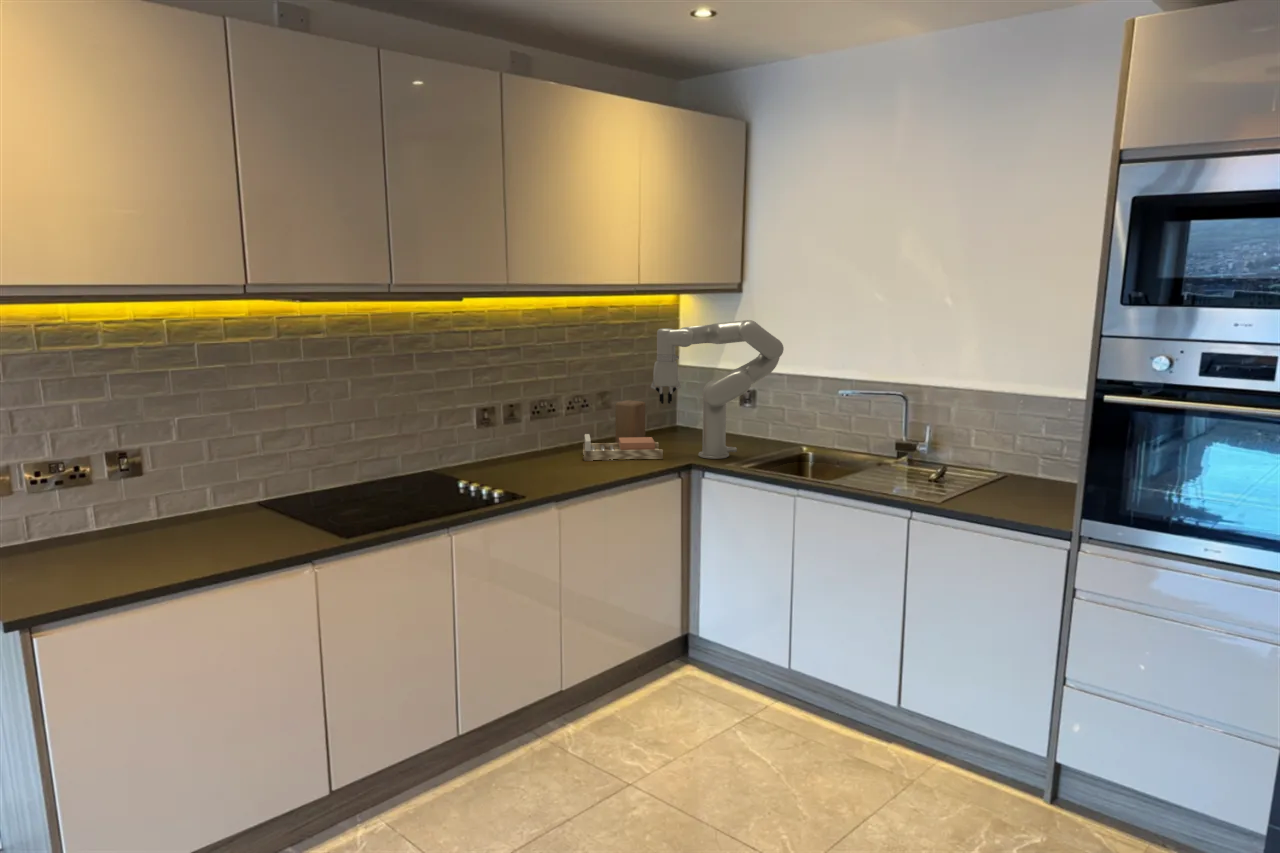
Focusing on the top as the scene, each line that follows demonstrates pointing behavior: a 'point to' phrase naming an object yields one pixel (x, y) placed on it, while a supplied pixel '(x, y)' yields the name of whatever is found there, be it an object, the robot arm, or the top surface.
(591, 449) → the rollers
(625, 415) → the wooden block
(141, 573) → the top surface
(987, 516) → the top surface
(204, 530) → the top surface
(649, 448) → the slab
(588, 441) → the end stop
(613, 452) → the roller bed
